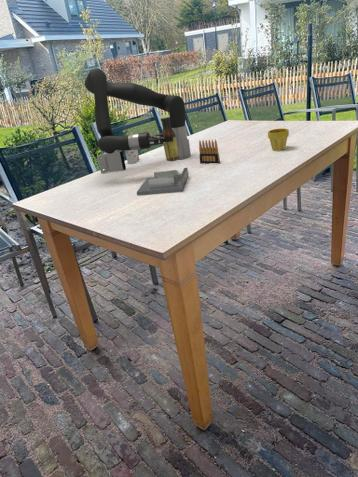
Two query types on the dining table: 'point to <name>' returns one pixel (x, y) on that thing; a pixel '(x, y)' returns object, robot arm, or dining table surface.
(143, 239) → the dining table surface
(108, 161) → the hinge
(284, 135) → the plant pot
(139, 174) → the dining table surface
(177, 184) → the plate
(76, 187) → the dining table surface
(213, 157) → the ammunition clip
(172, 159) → the sauce bottle
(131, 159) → the ink cartridge box
